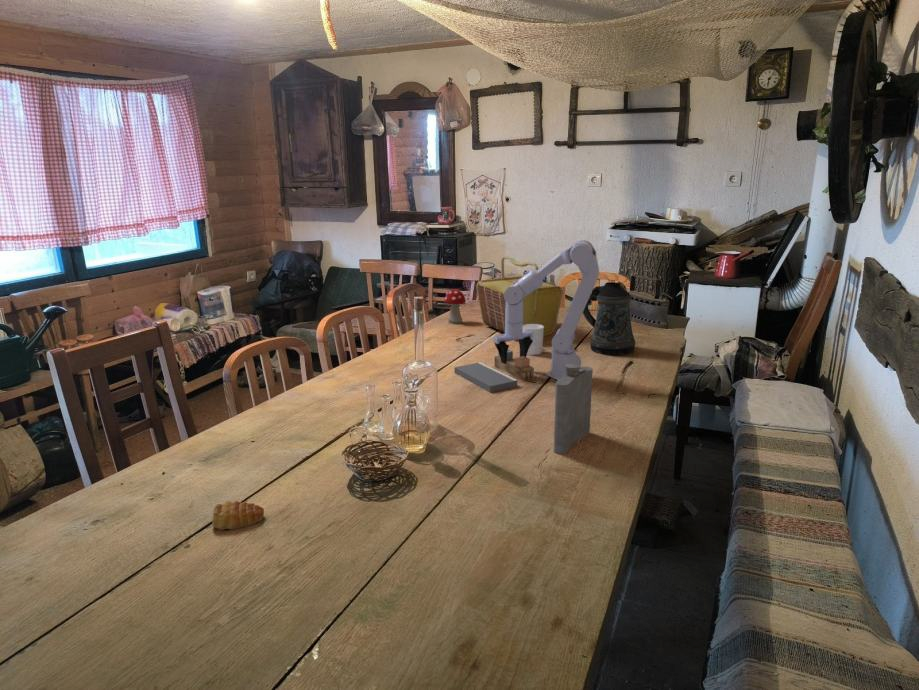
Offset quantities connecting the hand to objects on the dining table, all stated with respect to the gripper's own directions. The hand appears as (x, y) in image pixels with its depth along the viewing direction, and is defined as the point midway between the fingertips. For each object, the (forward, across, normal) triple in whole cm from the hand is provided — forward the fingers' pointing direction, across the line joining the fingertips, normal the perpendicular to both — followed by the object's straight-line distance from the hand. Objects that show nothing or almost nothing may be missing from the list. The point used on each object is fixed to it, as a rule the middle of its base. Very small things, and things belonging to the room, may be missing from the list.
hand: (513, 361), depth 204 cm
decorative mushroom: (+4, -18, -71) cm, 73 cm away
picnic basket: (+4, -33, -44) cm, 55 cm away
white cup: (+4, -19, -15) cm, 25 cm away
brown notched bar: (+4, 0, 0) cm, 4 cm away
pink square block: (0, 0, +5) cm, 5 cm away
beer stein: (+4, -45, -3) cm, 45 cm away
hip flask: (+4, +19, +52) cm, 56 cm away
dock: (+4, +12, +1) cm, 13 cm away
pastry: (+5, +98, +46) cm, 108 cm away
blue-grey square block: (0, 0, -5) cm, 5 cm away
